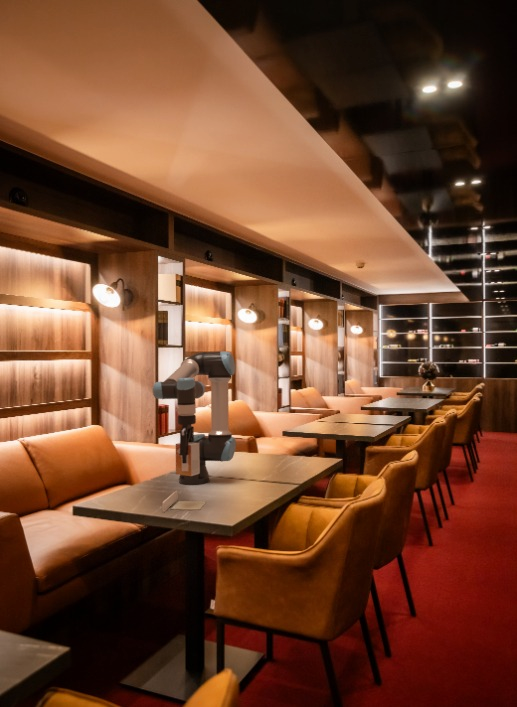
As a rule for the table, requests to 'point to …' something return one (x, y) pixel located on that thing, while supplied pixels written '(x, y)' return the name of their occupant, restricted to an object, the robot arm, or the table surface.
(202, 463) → the robot arm
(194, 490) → the table surface
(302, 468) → the table surface
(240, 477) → the table surface
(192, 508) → the mat
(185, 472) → the small box
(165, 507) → the fence
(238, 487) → the table surface
